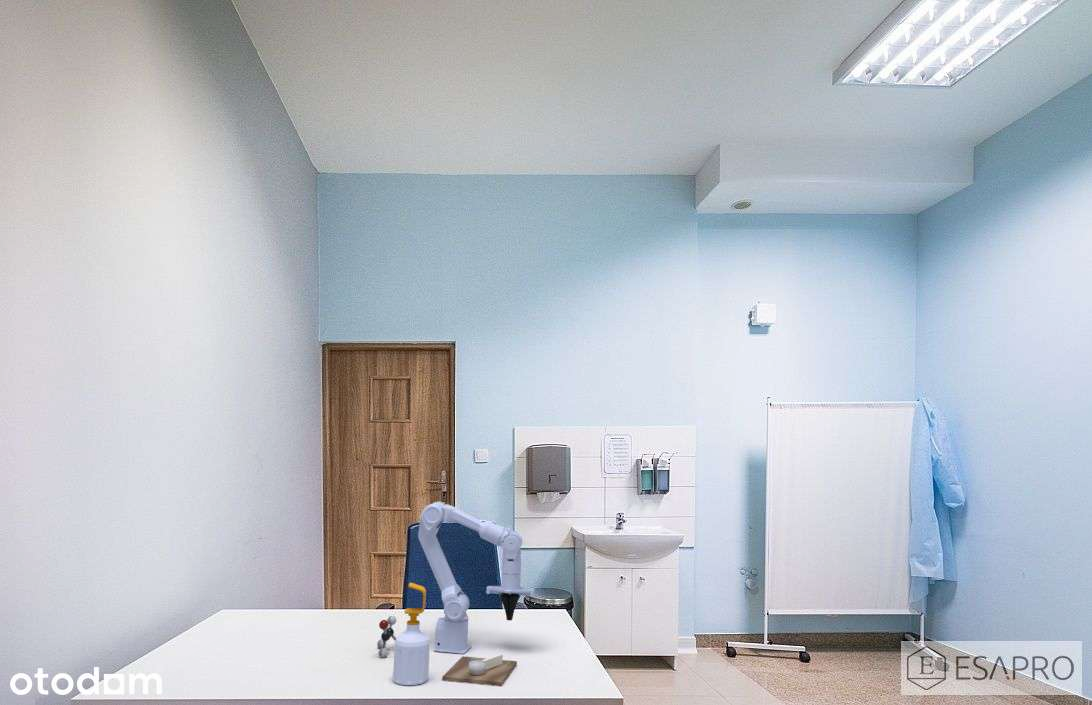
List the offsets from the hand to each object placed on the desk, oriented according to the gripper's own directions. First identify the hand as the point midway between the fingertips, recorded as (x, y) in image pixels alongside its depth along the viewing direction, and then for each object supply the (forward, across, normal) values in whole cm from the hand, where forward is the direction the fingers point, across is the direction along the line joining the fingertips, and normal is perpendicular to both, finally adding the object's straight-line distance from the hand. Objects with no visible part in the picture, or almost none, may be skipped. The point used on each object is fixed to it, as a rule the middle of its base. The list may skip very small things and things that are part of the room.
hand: (509, 619), depth 219 cm
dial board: (+9, -3, -20) cm, 22 cm away
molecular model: (+10, -34, -11) cm, 37 cm away
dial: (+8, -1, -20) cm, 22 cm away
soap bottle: (+10, -19, -31) cm, 38 cm away
